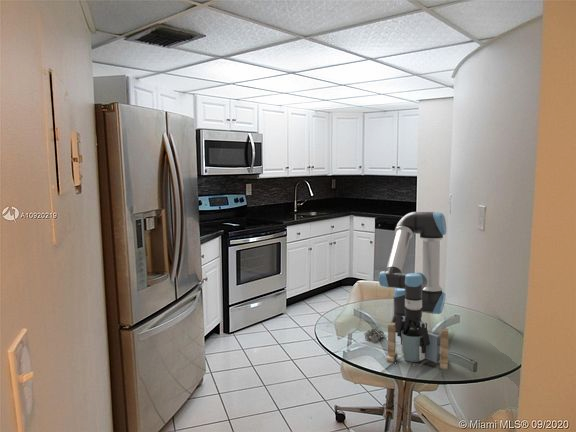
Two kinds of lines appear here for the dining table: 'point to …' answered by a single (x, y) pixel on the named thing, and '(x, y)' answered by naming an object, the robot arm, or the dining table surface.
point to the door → (433, 348)
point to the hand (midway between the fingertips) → (412, 355)
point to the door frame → (393, 352)
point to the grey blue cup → (411, 345)
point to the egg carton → (376, 336)
